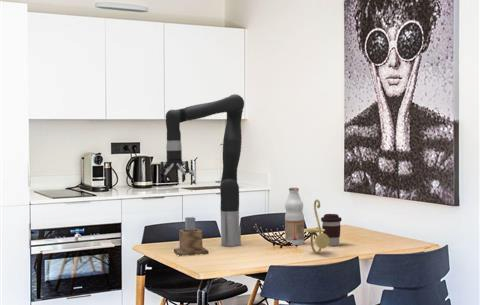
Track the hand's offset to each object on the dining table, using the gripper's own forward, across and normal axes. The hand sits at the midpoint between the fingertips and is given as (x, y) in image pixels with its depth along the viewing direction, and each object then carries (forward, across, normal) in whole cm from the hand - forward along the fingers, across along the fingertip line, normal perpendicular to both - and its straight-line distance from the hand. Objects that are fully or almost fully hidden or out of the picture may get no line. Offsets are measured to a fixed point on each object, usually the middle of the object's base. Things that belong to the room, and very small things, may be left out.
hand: (174, 182), depth 303 cm
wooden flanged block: (+32, +3, -21) cm, 38 cm away
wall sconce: (+32, +56, -46) cm, 79 cm away
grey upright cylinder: (+26, +3, -21) cm, 33 cm away
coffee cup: (+32, +72, -28) cm, 84 cm away
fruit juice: (+32, +57, -17) cm, 68 cm away
